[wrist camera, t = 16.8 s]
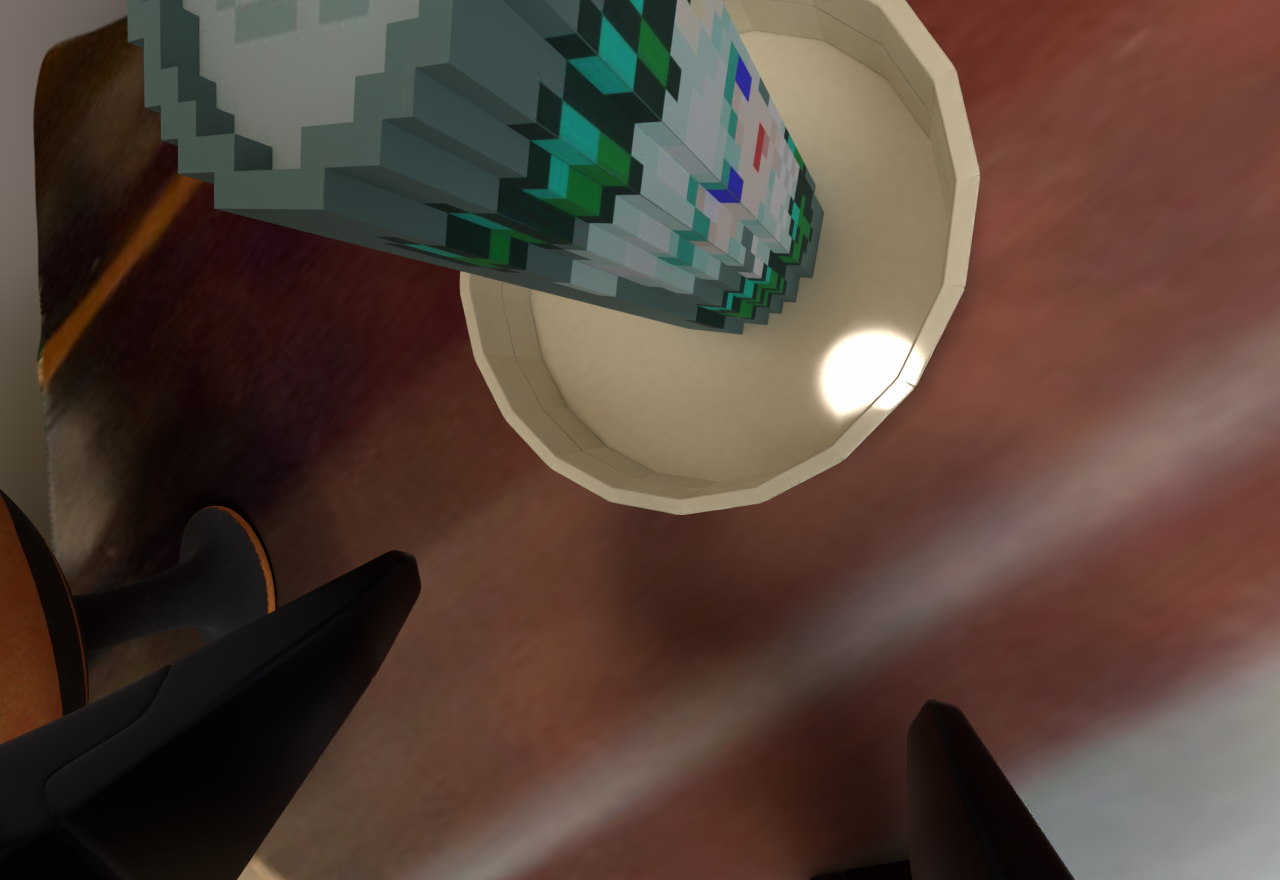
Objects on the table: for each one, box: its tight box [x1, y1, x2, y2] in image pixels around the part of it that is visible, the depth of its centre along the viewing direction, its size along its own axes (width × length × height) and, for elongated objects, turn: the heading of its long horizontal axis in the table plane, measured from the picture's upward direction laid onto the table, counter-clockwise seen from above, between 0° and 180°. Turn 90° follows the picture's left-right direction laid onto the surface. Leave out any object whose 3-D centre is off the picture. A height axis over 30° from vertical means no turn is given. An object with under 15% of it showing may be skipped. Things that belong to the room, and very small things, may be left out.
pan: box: [460, 0, 980, 515], centre depth 18 cm, size 16×16×4 cm
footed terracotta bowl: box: [0, 489, 275, 744], centre depth 28 cm, size 36×26×18 cm
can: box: [127, 0, 824, 335], centre depth 12 cm, size 6×6×15 cm
